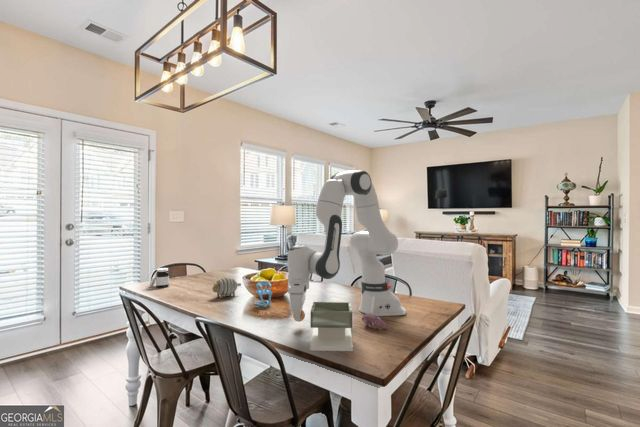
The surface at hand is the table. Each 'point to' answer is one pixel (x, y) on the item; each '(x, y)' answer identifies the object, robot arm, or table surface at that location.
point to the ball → (302, 316)
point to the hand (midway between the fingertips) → (299, 317)
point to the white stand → (331, 339)
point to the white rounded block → (160, 278)
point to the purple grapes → (374, 321)
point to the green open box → (331, 315)
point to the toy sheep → (225, 286)
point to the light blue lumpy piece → (263, 293)
